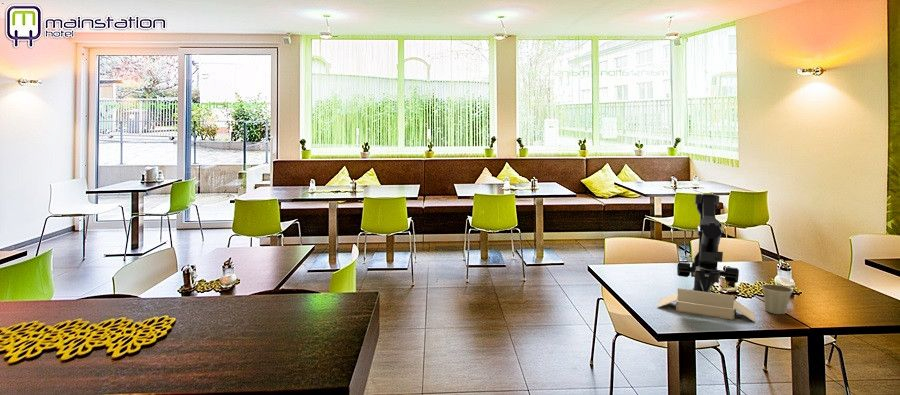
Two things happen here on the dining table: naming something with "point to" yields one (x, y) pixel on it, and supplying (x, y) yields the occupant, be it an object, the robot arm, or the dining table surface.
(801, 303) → the dining table surface
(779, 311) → the flower pot
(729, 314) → the carton
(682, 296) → the flap
